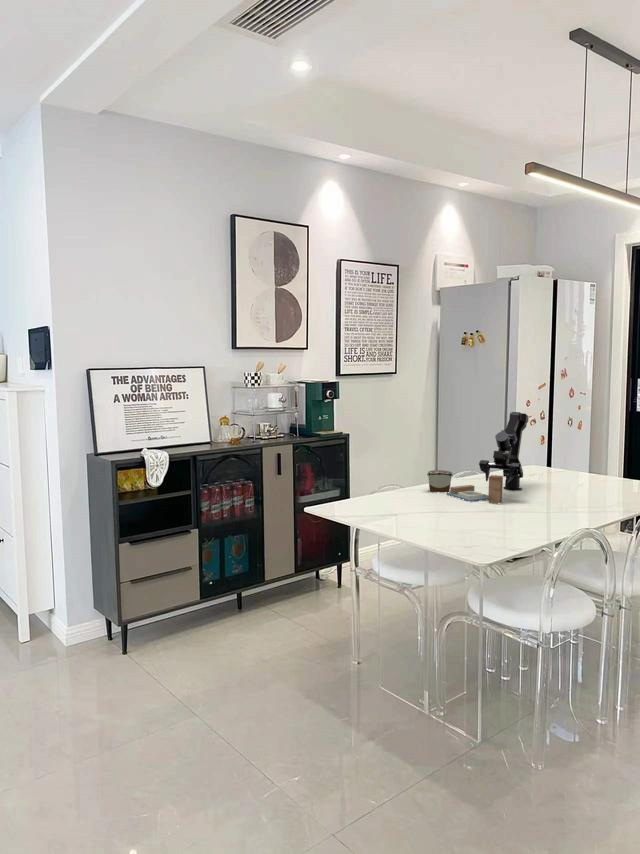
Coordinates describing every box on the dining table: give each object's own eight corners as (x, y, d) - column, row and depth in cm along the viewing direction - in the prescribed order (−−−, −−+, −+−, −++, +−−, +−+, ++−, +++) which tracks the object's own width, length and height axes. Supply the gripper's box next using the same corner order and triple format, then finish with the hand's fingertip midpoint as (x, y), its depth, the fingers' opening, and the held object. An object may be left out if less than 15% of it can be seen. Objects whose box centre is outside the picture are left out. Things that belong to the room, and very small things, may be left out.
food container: (451, 490, 337) (451, 470, 336) (452, 492, 331) (452, 472, 330) (425, 489, 338) (426, 469, 337) (426, 492, 332) (427, 471, 331)
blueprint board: (469, 492, 333) (470, 484, 332) (493, 499, 318) (493, 490, 317) (446, 494, 326) (446, 486, 326) (469, 502, 311) (470, 493, 311)
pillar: (491, 500, 314) (491, 474, 313) (502, 501, 312) (502, 475, 311) (488, 502, 310) (489, 476, 309) (499, 504, 308) (500, 477, 306)
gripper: (480, 442, 319) (473, 469, 310) (521, 445, 310) (515, 473, 301) (484, 457, 326) (477, 483, 318) (524, 460, 317) (518, 488, 309)
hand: (496, 482), depth 311 cm, fingers open, 9 cm apart
